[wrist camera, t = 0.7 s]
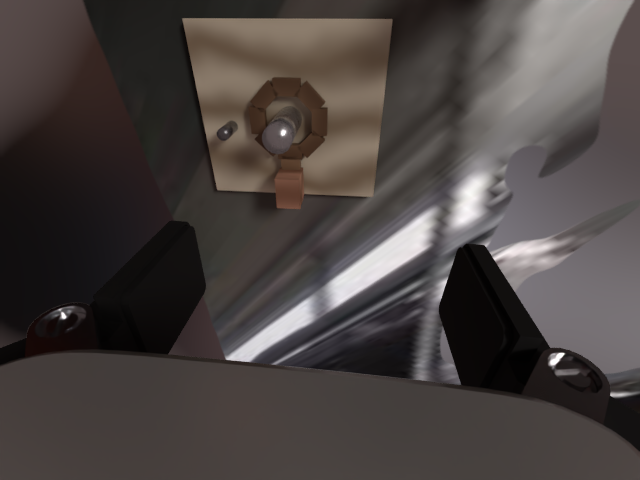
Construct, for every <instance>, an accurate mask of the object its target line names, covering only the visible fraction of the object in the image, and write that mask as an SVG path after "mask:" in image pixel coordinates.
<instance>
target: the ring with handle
mask: <svg viewBox="0 0 640 480" xmlns="http://www.w3.org/2000/svg"><path fill="white" fill-rule="evenodd" d="M277 96H287V97H298V98H299V99H300V101H301V102H302V103H303V104H304V105H305V106H306V107H307V108H308V109H309V110H310V111H311V112H312V132H311V133H310V134H309V135H308V136H307V137H306V138H305V139H304V140H303V141H302V142H301V143H292V144H291V146H290V148H289V149H288V151H286V152H285V153H283V154H278V159H281V167H280V169H279V171H278V173H277V175H276V177H275V179H274V180H275V191H276V203H277V208H286V209H300V207H301V204H302V200H303V197H304V175H303V168H302V167H301V160H302V159H303V155H304V156H305V157H306V158H308V157H309V156H310V155H311V154H312V153H313V152H314V151H315V150H316V149H317V148H318V147H319V146H320V145H321V144H322V143H324V142H325V138H324V137H323V136H327V124H328V107H322V106H323V105H324V104H325V102H326V101H325V100H324V99H323V98H322V97H321V96H320V95H319V94H318V92H317V91H316V90H315V89H314V88H313V87H312V86H311V85H310V84H309V82H308V81H306V82H305V83H304V84H303V85H302V86H301V78H293V77H274V78H272V83H271V82H270V81H269V80H267V81H266V82H265V84H264V85H263V86H262V87H261V89H260V90H259V91H258V92H257V94H256V95H255V96H254V97H253V98H252V100H251V101H250V102H251V103H252V104H253V105H254V106H250V107H248V108H249V117H250V125H251V133H252V134H259V135H258V136H257V137H256V138H255V140H256V141H257V142H258V143H259V144H260V145H261V146H262V147H263V148H264V149H265V150H266V151H267V152H268V153H269V154H270V155H272V156H273V157H274V156H275V155H276V154H274V153H271V152H270V151H268V150H267V149H266V148H265V146H264V144H263V142H262V134H263V131H264V130H265V129H266V127H267V116H266V108H267V107H268V106H269V105H270V104H271V103H272V101H273V100H274V99H275V98H276V97H277Z"/></svg>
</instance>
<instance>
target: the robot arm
mask: <svg viewBox="0 0 640 480" xmlns="http://www.w3.org/2000/svg"><path fill="white" fill-rule="evenodd" d="M205 288H206V283H205V278H204V273H203V268H202V263H201V258H200V254H199V249H198V244H197V239H196V234H195V230H194V228H193V227H192V226H190V225H189V223H188V222H181V221H169V222H168V223H167V224H166V225H165V226H164V227H163V228H162V229H161V230H160V231H159V232H158V233H157V234H156V235H155V236H154V237H153V238H152V239H151V240H150V241H149V242H148V243H147V244H146V245H145V246H144V247H143V248H142V249H141V250H140V251H139V252H138V253H136V255H134V257H132V258H131V259H130V260H129V261H128V262H127V263H126V264H125V265H124V266H123V267H122V268H121V269H120V270H119V271H118V272H117V273H116V274H115V275H114V276H113V277H112V278H111V279H110V280H109V281H108V282H107V283H106V284H105V285H104V286H103V287H102V288H101V289H100V290H99V291H98V292H97V293H96V294H95V295H94V296H93V298H94V300H95V301H94V302H93V303H92V304H90V305H87V304H85V303H79V302H77V303H68V304H64V305H60V306H58V307H55V308H53V309H50V310H49V311H47V312H45V313H43V314H42V315H40V316H39V317H38V318H37V319H35V320H34V322H33V323H32V324H31V325H30V326H29V329H28V332H27V338H25V339H23V340H20V341H18V342H15V343H12V344H10V345H7V346H5V347H2V348H0V480H640V414H639V413H637V412H636V411H634V410H632V409H631V408H629V407H627V406H626V405H624V404H623V403H621V402H619V401H618V400H616V399H614V398H613V397H611V396H610V392H611V390H610V384H609V381H608V379H607V377H606V376H605V375H604V374H603V372H602V371H601V370H600V369H599V368H598V367H596V366H595V365H594V364H593V363H592V362H591V361H589V360H588V359H586V358H584V357H583V356H581V355H579V354H577V353H575V352H572V351H570V350H566V349H562V348H550V347H549V345H548V344H547V342H546V341H545V339H544V337H543V336H542V334H541V333H540V331H539V329H538V328H537V326H536V325H535V323H534V322H533V320H532V318H531V317H530V315H529V314H528V312H527V311H526V309H525V308H524V306H523V304H522V303H521V301H520V300H519V298H518V297H517V295H516V293H515V292H514V290H513V289H512V287H511V286H510V284H509V283H508V281H507V279H506V278H505V276H504V275H503V273H502V272H501V270H500V268H499V267H498V265H497V264H496V262H495V261H494V259H493V258H492V256H491V254H490V253H489V251H488V250H487V248H486V247H485V246H484V245H476V244H465V245H464V246H463V248H461V247H460V248H459V249H458V250H457V253H456V256H455V259H454V262H453V265H452V268H451V271H450V274H449V277H448V280H447V283H446V286H445V289H444V292H443V296H442V299H441V302H440V305H439V314H440V318H441V321H442V324H443V328H444V330H445V334H446V337H447V340H448V344H449V347H450V350H451V353H452V356H453V359H454V363H455V366H456V369H457V372H458V376H459V379H460V382H461V385H455V384H447V383H439V382H431V381H422V380H413V379H403V378H394V377H385V376H376V375H366V374H357V373H348V372H339V371H329V370H319V369H310V368H300V367H290V366H280V365H271V364H261V363H251V362H241V361H231V360H220V359H210V358H200V357H199V358H198V357H189V356H179V355H168V353H169V352H170V350H171V348H172V347H173V345H174V343H175V342H176V340H177V338H178V336H179V335H180V333H181V331H182V329H183V328H184V326H185V325H186V323H187V321H188V320H189V318H190V316H191V314H192V313H193V311H194V309H195V308H196V306H197V304H198V303H199V301H200V299H201V297H202V296H203V294H204V292H205Z"/></svg>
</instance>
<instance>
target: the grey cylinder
mask: <svg viewBox="0 0 640 480" xmlns="http://www.w3.org/2000/svg"><path fill="white" fill-rule="evenodd" d="M301 124H302V116H301V113H300V112H299V110H298V109H296V108H295V107H292V106H286V107H284V108H282V109H281V110H280V111H279V113H278V114H277V115H276V116H275V117H274V119H273V120H272V121H271V122H270V124H269V125H268V126H267V127H266V129H265V130H264V131H263V134H262V142H263V144H264V146H265V148H266V149H267V150H268V151H270V152H271V153H274V154H283V153H285V152H286V151H288V149H289V148H290V146H291V144H292V142H293V140H294V138H295V136H296V134H297V132H298V130H299V128H300V126H301ZM237 130H238V125H237V123H236V122H235V121H229V122H227V123H226V124H225V125H224V126H222V127H221V128H220V129H219V130H218V131H217V137H218V138H219V139H220V140H222V141H226V140H227V139H229V138H230V137H231V136H232V135H233V134H234V133H235V132H236V131H237Z"/></svg>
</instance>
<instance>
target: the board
mask: <svg viewBox="0 0 640 480" xmlns="http://www.w3.org/2000/svg"><path fill="white" fill-rule="evenodd" d="M182 19H183V24H184V29H185V34H186V39H187V44H188V49H189V54H190V59H191V64H192V69H193V73H194V78H195V83H196V88H197V93H198V98H199V103H200V108H201V113H202V118H203V123H204V127H205V132H206V137H207V142H208V147H209V152H210V157H211V162H212V167H213V172H214V177H215V182H216V186H217V190H225V191H247V192H270V193H276V191H275V180H274V179H275V177H276V175H277V173H278V171H279V169H280V167H281V159H278V154H276V155H275V156H274V157H273V156H272V155H270V154H269V153H268V152H267V151H266V150H265V149H264V148H263V147H262V146H261V145H260V144H259V143H258V142H257V141H256V140H255V138H256V137H257V136H258V135H259V134H252V133H251V125H250V117H249V108H248V107H250V106H254V105H253V104H252V103H251V102H250V101H251V100H252V98H253V97H254V96H255V95H256V94H257V92H258V91H259V90H260V89H261V87H262V86H263V85H264V84H265V82H266V81H267V80H269V81H270V82H271V83H272V78H274V77H293V78H301V86H302V85H303V84H304V83H305V82H306V81H308V82H309V84H310V85H311V86H312V87H313V88H314V89H315V90H316V91H317V92H318V94H319V95H320V96H321V97H322V98H323V99H324V100H325V101H326V102H325V104H324V105H323V106H322V107H328V124H327V136H323V137H324V138H325V142H324V143H322V144H321V145H320V146H319V147H318V148H317V149H316V150H315V151H314V152H313V153H312V154H311V155H310V156H309V157H308V158H306V157H305V156H304V155H303V159H302V160H301V167H302V168H303V175H304V194H316V195H339V196H362V197H373V192H374V183H375V174H376V165H377V156H378V147H379V138H380V129H381V120H382V111H383V102H384V93H385V84H386V75H387V66H388V57H389V48H390V39H391V30H392V21H393V19H224V18H182ZM286 106H292V107H295V108H296V109H298V110H299V112H300V113H301V116H302V124H301V126H300V128H299V130H298V132H297V134H296V136H295V138H294V140H293V142H292V143H301V142H302V141H303V140H304V139H305V138H306V137H307V136H308V135H309V134H310V133H311V132H312V112H311V111H310V110H309V109H308V108H307V107H306V106H305V105H304V104H303V103H302V102H301V101H300V99H299V98H298V97H287V96H277V97H276V98H275V99H274V100H273V101H272V103H271V104H270V105H269V106H268V107H267V108H266V116H267V126H268V125H269V124H270V122H271V121H272V120H273V119H274V117H275V116H276V115H277V114H278V113H279V111H280V110H281V109H282V108H284V107H286ZM229 121H235V122H236V123H237V125H238V130H237V131H236V132H235V133H234V134H233V135H232V136H231V137H230V138H229V139H227V140H226V141H222V140H220V139H219V138H218V137H217V131H218V130H219V129H220V128H221V127H222V126H224V125H225V124H226V123H227V122H229Z"/></svg>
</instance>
